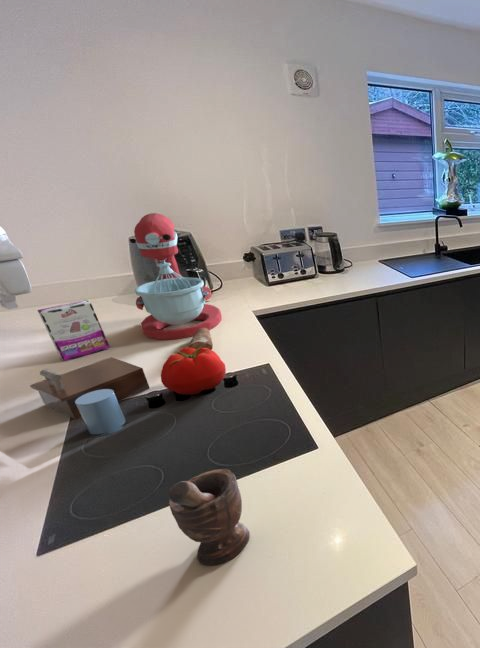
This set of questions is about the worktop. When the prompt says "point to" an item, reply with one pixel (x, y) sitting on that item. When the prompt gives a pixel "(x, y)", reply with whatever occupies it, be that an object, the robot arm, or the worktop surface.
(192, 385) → the tomato
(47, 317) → the candy bar box
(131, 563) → the worktop surface
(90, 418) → the canister
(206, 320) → the stand mixer
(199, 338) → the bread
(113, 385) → the brown wooden box
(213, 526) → the mortar and pestle
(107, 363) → the lid
